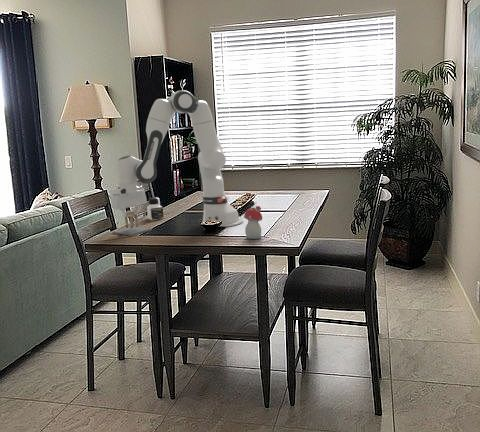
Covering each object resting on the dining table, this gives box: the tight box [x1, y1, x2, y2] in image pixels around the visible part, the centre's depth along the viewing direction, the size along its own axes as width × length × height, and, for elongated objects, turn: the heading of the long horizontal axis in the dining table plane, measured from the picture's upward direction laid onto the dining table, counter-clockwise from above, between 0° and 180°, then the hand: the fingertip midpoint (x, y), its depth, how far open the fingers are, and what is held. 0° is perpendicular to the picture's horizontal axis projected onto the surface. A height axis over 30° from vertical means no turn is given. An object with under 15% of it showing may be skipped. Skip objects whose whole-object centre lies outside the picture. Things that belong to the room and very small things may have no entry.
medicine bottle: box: [146, 197, 164, 221], centre depth 313 cm, size 7×7×12 cm
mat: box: [112, 225, 153, 237], centre depth 282 cm, size 14×14×1 cm
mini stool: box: [124, 210, 139, 228], centre depth 281 cm, size 6×6×8 cm
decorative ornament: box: [243, 205, 263, 240], centre depth 251 cm, size 9×7×15 cm
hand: (130, 215), depth 280 cm, fingers closed on mini stool, 5 cm apart
